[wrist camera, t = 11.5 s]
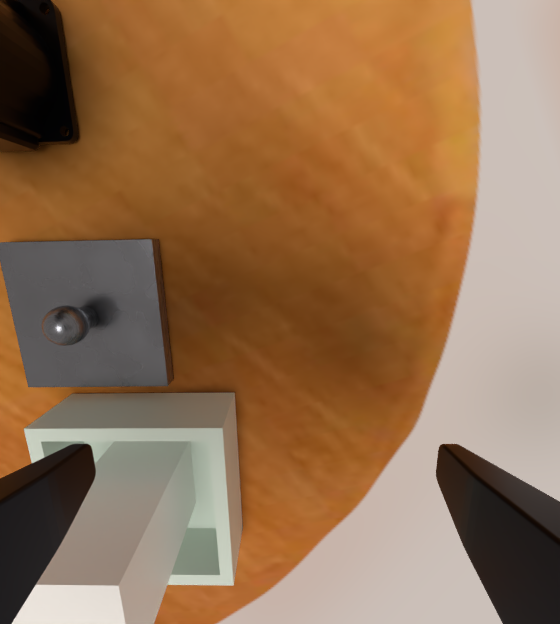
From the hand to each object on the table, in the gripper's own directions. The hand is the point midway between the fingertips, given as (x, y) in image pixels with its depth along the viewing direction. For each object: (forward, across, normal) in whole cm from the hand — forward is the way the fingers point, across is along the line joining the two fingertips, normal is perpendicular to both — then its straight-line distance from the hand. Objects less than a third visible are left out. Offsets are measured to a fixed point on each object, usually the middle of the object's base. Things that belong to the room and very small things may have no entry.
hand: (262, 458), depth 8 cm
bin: (+12, +8, +10) cm, 18 cm away
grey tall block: (+11, +8, +10) cm, 17 cm away
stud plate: (+12, +12, -1) cm, 17 cm away
